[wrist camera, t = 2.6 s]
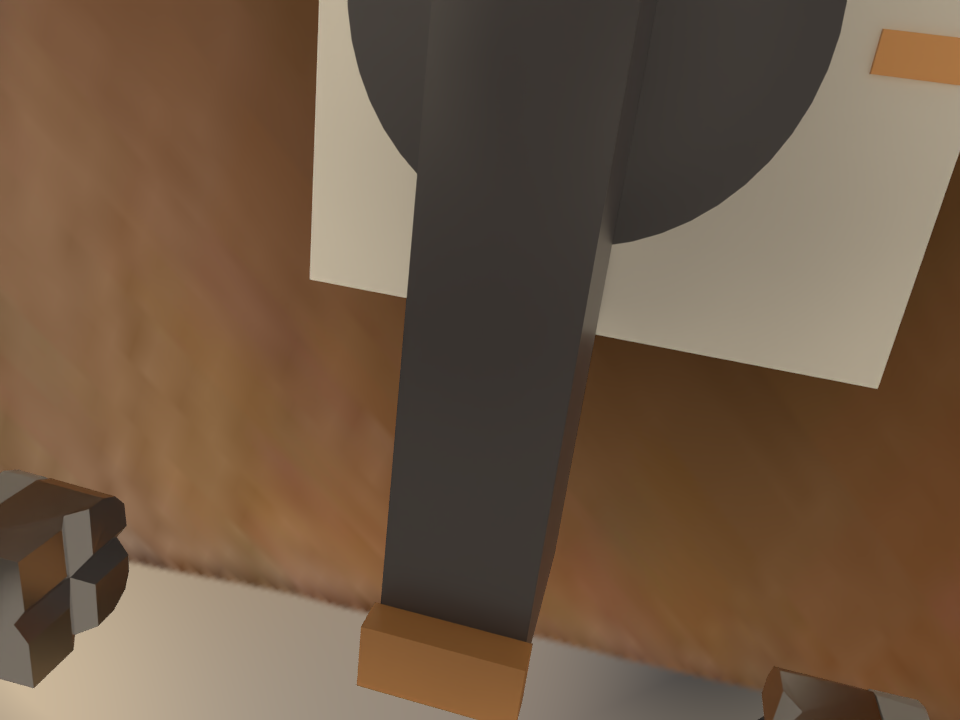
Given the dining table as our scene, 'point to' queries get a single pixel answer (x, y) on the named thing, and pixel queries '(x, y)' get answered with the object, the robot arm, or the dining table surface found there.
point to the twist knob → (537, 273)
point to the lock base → (717, 207)
